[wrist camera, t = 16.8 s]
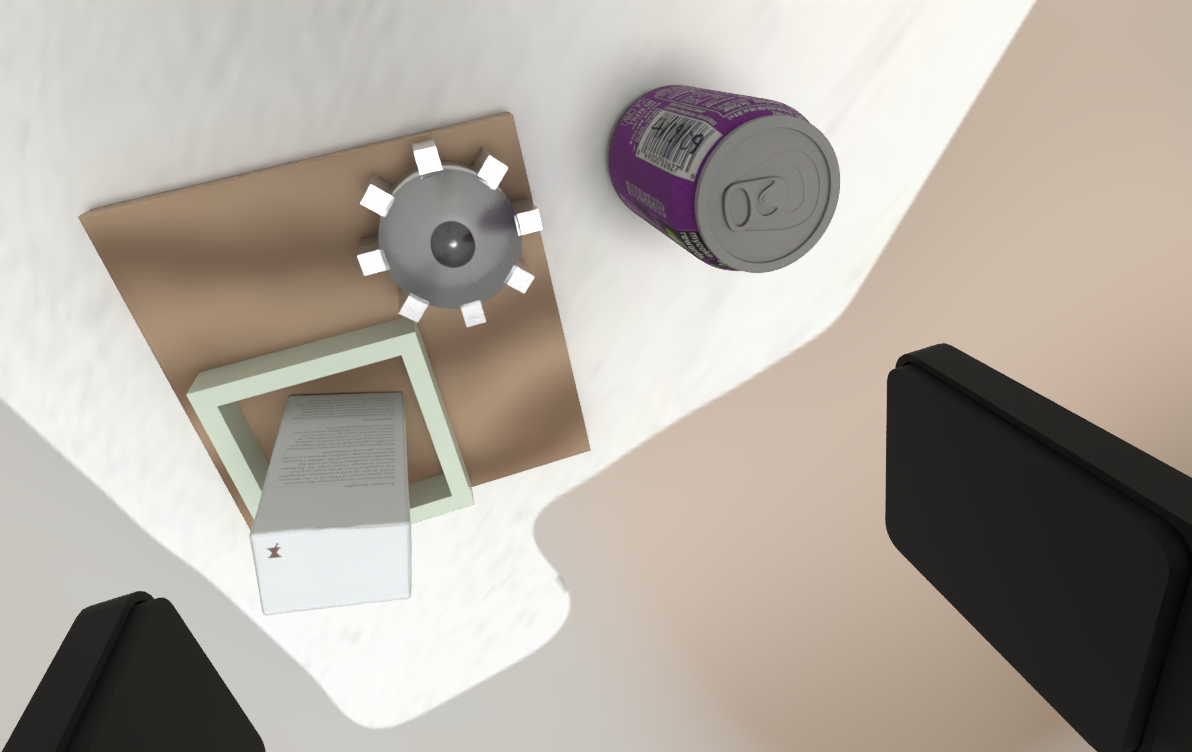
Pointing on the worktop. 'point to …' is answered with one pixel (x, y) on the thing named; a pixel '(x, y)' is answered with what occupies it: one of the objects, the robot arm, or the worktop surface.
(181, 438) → the worktop surface
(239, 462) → the green square frame
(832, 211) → the beverage can
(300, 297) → the carrier plate
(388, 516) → the skincare box
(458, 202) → the sun gear
